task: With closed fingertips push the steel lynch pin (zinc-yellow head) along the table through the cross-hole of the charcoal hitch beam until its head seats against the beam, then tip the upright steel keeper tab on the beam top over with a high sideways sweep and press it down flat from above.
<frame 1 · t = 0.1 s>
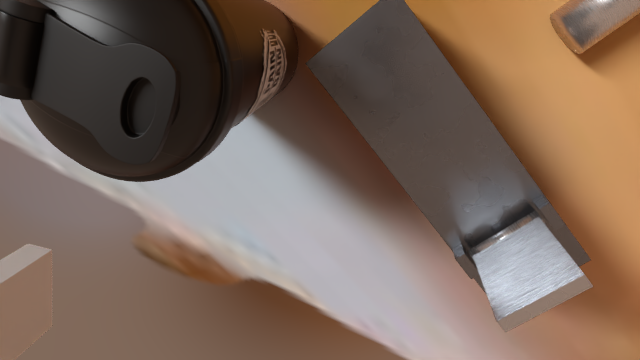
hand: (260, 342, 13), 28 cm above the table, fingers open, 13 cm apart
water bottle: (249, 50, 39), on the table
hitch beam: (437, 134, 38), on the table
keeper tab: (521, 264, 27), point 13 cm above the table, hinge at 0.0°
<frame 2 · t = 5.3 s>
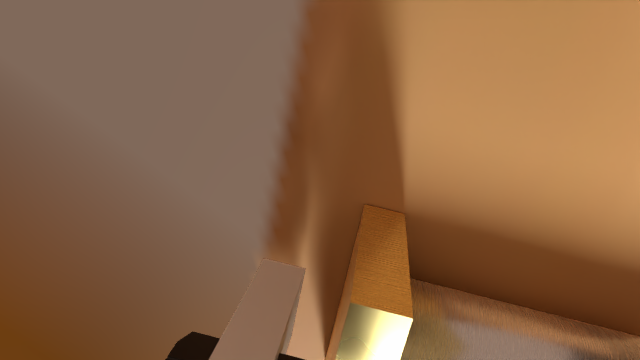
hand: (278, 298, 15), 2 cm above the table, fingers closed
lynch pin: (503, 329, 16), on the table, touching gripper
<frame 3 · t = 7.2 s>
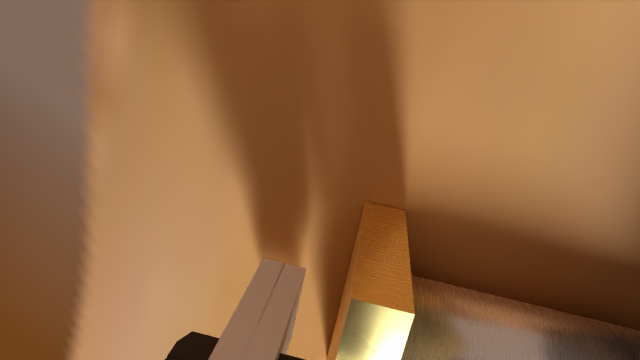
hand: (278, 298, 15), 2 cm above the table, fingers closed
lynch pin: (505, 325, 16), on the table, touching gripper
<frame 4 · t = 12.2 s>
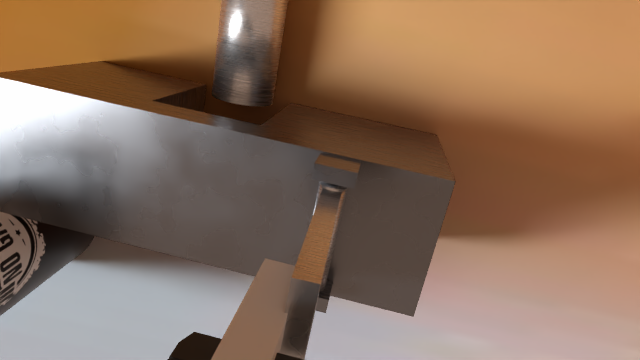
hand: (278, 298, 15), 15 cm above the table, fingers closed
water bottle: (45, 207, 34), on the table
hitch beam: (255, 149, 30), on the table
keeper tab: (311, 277, 17), point 13 cm above the table, hinge at 1.7°, touching gripper
lynch pin: (261, 20, 27), on the table
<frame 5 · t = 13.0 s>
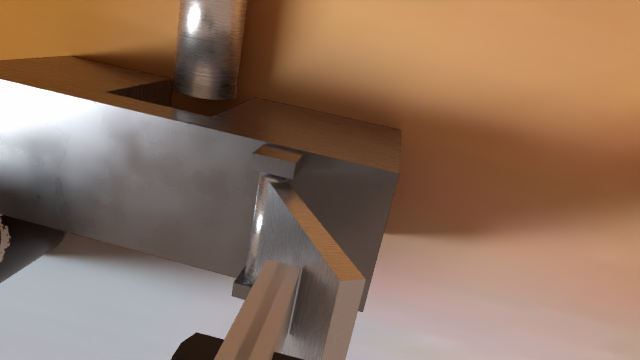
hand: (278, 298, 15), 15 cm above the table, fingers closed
water bottle: (19, 202, 34), on the table
hitch beam: (222, 144, 30), on the table
keeper tab: (291, 272, 17), point 13 cm above the table, hinge at 32.6°, touching gripper
lynch pin: (224, 14, 27), on the table
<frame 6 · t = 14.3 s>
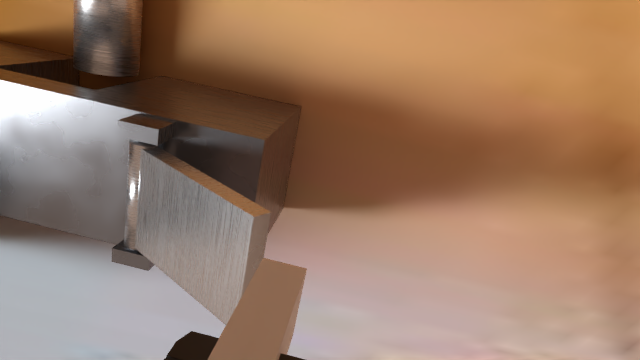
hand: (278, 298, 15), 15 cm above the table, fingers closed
hitch beam: (132, 122, 30), on the table
keeper tab: (186, 227, 19), point 12 cm above the table, hinge at 57.7°
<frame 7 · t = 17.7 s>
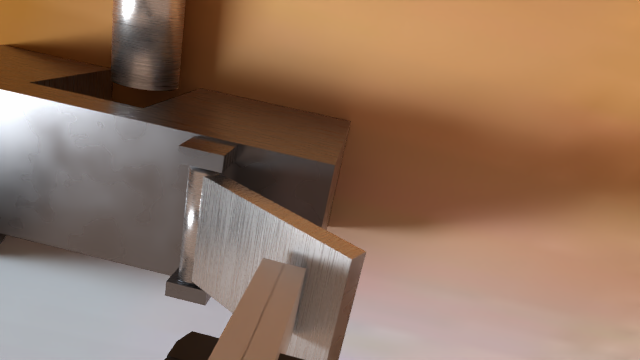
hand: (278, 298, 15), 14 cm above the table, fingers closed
hitch beam: (168, 137, 29), on the table
keeper tab: (256, 262, 17), point 12 cm above the table, hinge at 58.8°, touching gripper
lynch pin: (165, 1, 26), on the table
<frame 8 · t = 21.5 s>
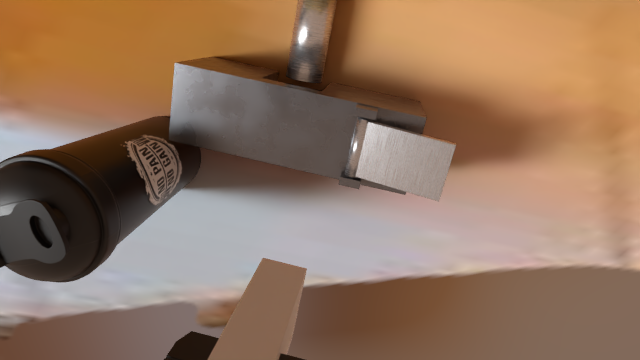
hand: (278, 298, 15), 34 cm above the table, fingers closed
water bottle: (166, 152, 52), on the table
hitch beam: (308, 111, 48), on the table
keeper tab: (398, 158, 38), point 11 cm above the table, hinge at 78.3°
lynch pin: (314, 32, 46), on the table
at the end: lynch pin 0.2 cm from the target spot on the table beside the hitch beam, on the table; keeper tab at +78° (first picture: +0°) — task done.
